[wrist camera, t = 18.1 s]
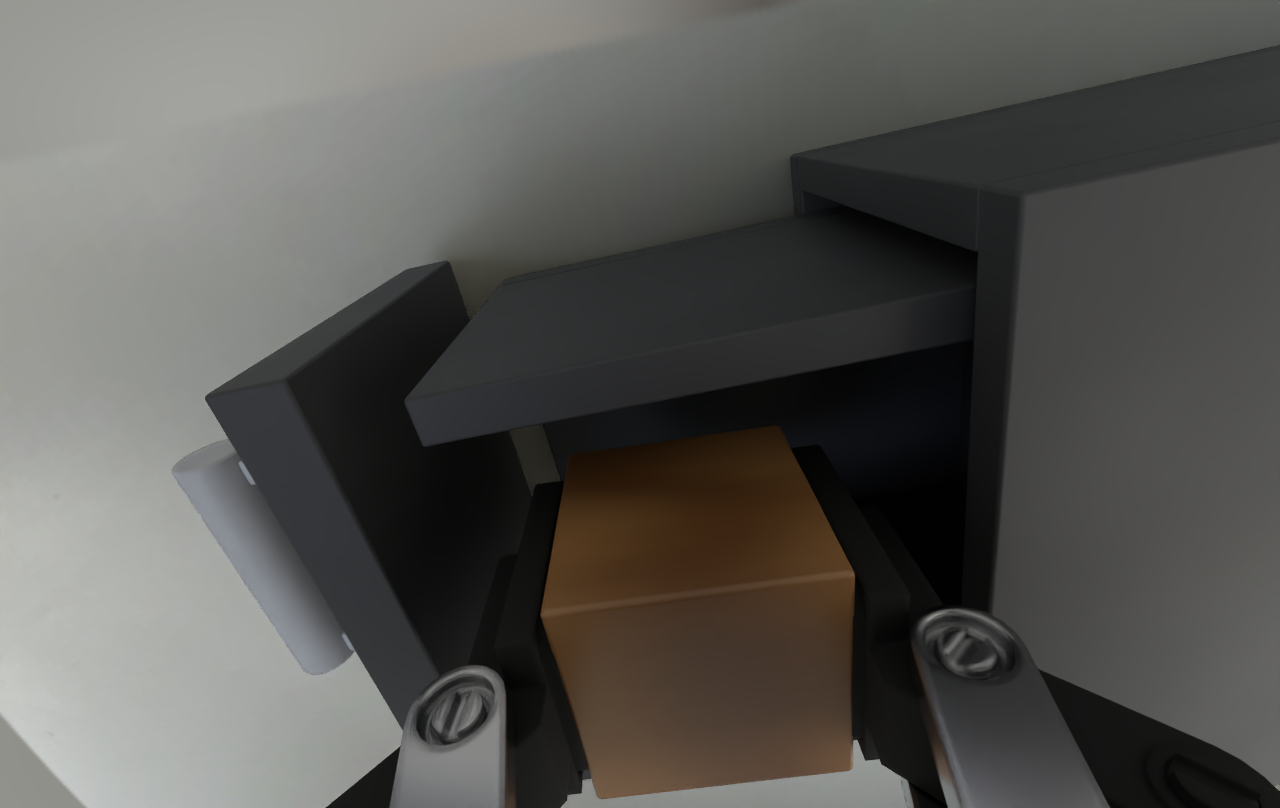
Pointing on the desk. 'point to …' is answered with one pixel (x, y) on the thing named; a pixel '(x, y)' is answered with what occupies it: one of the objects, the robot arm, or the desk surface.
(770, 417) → the drawer
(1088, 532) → the dark grey cabinet
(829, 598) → the block
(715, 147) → the desk surface
